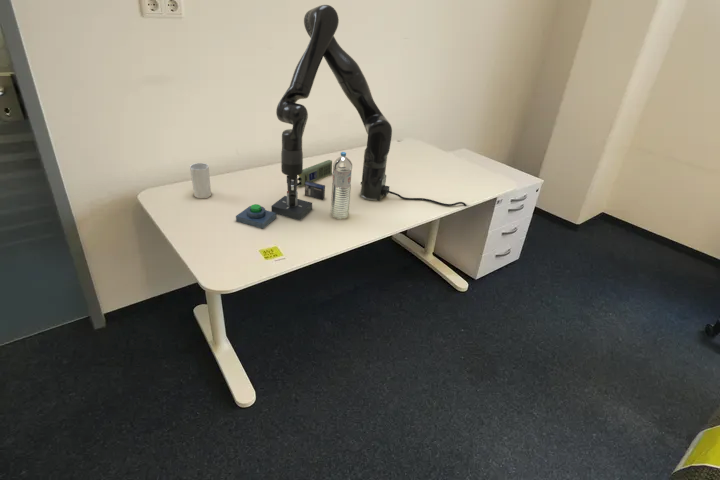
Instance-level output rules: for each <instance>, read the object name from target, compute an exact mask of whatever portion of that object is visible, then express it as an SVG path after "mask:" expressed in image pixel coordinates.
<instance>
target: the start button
mask: <svg viewBox="0 0 720 480" xmlns="http://www.w3.org/2000/svg"><path fill="white" fill-rule="evenodd" d="M250 206H251V212H253V213H258V212H261V207H262V205H261V204H259V203H258V204H257V203H255V204H251V205H250Z"/></svg>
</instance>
